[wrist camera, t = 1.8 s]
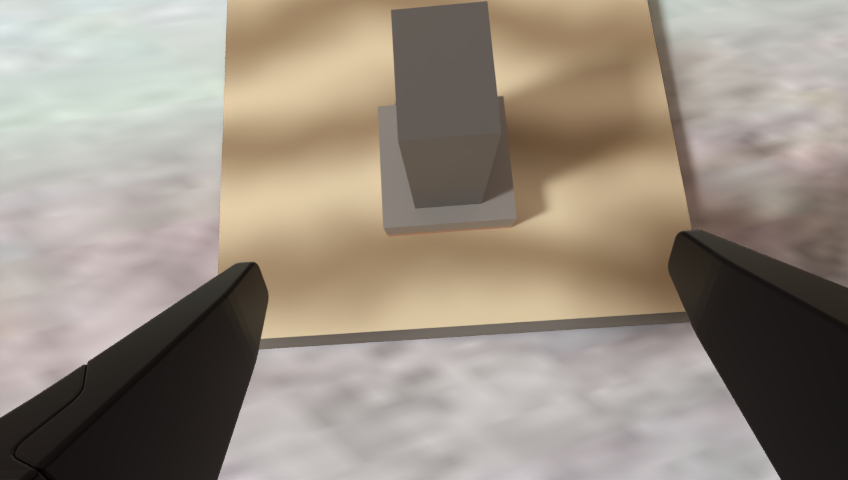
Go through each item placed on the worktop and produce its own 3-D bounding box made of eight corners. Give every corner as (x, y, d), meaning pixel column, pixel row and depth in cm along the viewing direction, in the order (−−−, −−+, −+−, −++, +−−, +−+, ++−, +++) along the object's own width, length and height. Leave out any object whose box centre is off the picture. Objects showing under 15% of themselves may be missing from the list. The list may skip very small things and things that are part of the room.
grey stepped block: (510, 227, 21) (557, 154, 12) (388, 236, 21) (347, 171, 13) (498, 114, 22) (533, -26, 14) (383, 123, 23) (342, -8, 14)
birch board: (703, 321, 21) (721, 320, 20) (220, 351, 22) (204, 353, 21) (636, -29, 25) (647, -50, 24) (231, 9, 26) (218, -10, 25)
